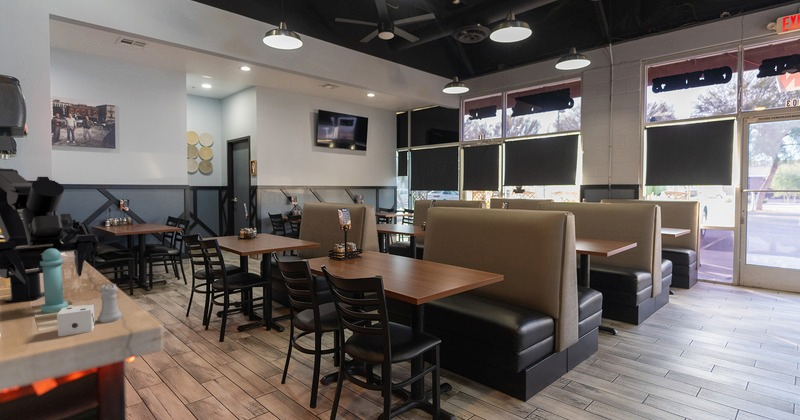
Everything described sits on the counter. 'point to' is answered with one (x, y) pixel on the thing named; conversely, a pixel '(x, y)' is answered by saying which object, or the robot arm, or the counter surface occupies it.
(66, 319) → the die
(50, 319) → the board
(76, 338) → the counter surface
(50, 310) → the pawn
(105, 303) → the rook chess piece
